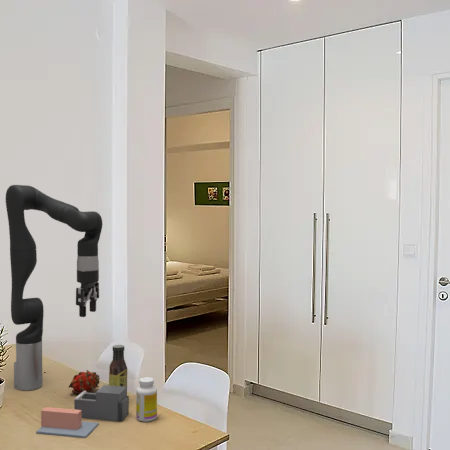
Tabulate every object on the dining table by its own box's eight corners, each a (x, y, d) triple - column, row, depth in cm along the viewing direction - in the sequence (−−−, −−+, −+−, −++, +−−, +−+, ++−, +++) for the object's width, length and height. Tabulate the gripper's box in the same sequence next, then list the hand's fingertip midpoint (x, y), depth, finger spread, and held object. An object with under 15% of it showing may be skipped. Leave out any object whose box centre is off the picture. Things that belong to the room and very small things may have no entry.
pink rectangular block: (41, 426, 176) (41, 410, 176) (45, 422, 179) (45, 406, 179) (77, 429, 174) (77, 413, 174) (81, 425, 177) (81, 410, 177)
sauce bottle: (123, 406, 194) (123, 349, 193) (105, 405, 196) (105, 348, 194) (130, 399, 201) (130, 344, 200) (113, 398, 202) (113, 343, 201)
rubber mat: (36, 433, 172) (36, 431, 172) (51, 420, 182) (51, 418, 182) (85, 438, 170) (85, 436, 170) (99, 424, 179) (99, 422, 179)
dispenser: (74, 417, 185) (74, 390, 184) (83, 409, 191) (83, 383, 191) (121, 421, 182) (121, 394, 181) (128, 413, 189) (128, 386, 188)
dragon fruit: (102, 393, 211) (71, 405, 204) (93, 375, 216) (63, 386, 209) (105, 380, 206) (74, 391, 199) (96, 362, 211) (65, 372, 204)
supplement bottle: (160, 416, 186) (161, 378, 186) (149, 423, 180) (150, 384, 180) (143, 412, 189) (143, 375, 189) (132, 420, 183) (132, 381, 183)
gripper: (86, 265, 207) (86, 309, 208) (68, 270, 193) (68, 318, 194) (105, 266, 206) (105, 310, 207) (89, 271, 192) (89, 319, 193)
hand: (87, 314), depth 200 cm, fingers open, 8 cm apart
